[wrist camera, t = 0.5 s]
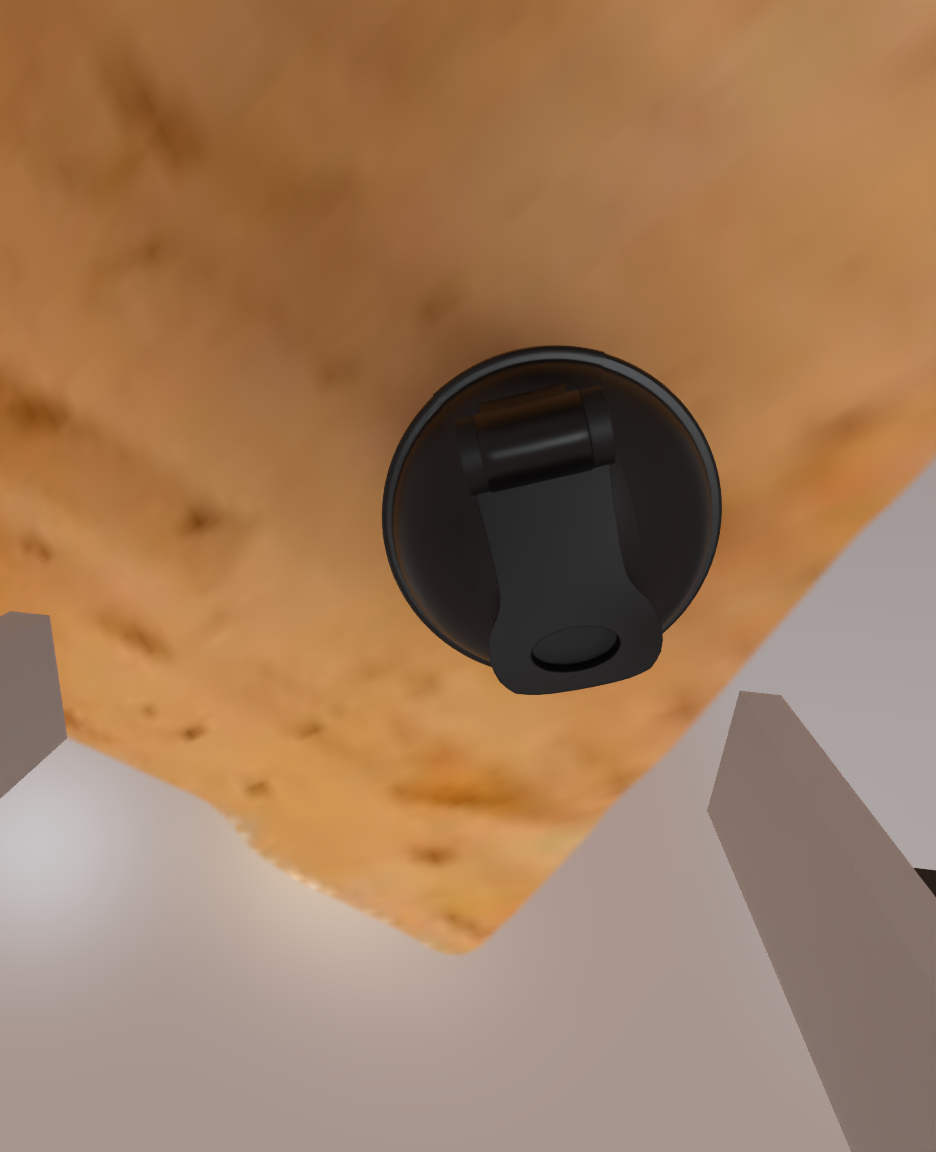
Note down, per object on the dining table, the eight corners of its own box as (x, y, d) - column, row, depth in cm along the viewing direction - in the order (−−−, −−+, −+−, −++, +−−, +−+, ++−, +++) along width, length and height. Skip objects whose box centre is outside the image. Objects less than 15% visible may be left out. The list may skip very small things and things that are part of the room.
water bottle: (464, 538, 40) (416, 762, 19) (422, 370, 37) (304, 404, 15) (628, 502, 39) (782, 698, 17) (599, 325, 36) (742, 294, 14)
